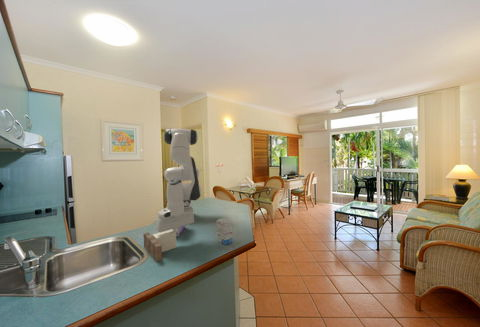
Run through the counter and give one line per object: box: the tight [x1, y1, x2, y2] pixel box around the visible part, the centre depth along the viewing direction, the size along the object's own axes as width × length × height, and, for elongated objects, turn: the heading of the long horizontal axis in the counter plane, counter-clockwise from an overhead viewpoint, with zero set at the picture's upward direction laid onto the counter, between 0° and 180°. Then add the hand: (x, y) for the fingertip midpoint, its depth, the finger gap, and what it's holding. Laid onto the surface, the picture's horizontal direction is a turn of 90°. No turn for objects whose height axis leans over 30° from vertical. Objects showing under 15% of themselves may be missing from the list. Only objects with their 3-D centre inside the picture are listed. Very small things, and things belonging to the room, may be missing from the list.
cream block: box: [152, 229, 177, 253], centre depth 101 cm, size 6×10×8 cm, turn 132°
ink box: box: [216, 218, 233, 246], centre depth 108 cm, size 9×5×12 cm, turn 44°
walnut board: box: [143, 232, 163, 262], centre depth 97 cm, size 20×2×7 cm, turn 42°
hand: (176, 235), depth 105 cm, fingers closed
